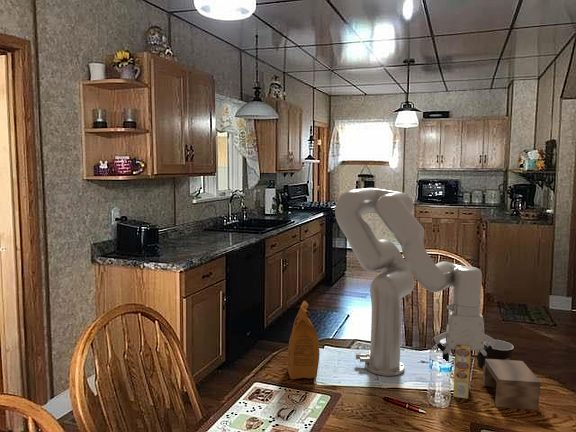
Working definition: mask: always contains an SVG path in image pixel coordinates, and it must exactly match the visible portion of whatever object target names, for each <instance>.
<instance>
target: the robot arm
mask: <svg viewBox="0 0 576 432" xmlns="http://www.w3.org/2000/svg"><path fill="white" fill-rule="evenodd" d="M334 208H335V209H334V215H335V219H336V222H337V225H338V227H339V228H340V230H341V232H342V234H344V236H345V238H346V239H347V241H348V243H349V246H350V248H351V250H352V252H353V254H354V255H355V257H356V259H357V260H358V261H357V262H358V263H359V264H360V266H361V268H362V269H363V270H365V272H368V273H373V272H377V271H380V272H381V273H380V274H378V275H377V276H375V278H373V280H371V284H370V288H369V293H370V295H369V296H370V301H371V303H370V304H371V324H370V325H371V327H370V328H371V329H370V346H369V347H370V348H369V350H368V352H365V353H360V352H357V353H355V360H359V362H360V363H364V366H365V367H364V368H365V369H366V370H367V371H368V372H370V373H372V374H375V375H378V376H384V377H393V376H398V375H401V374H403V373H404V371H405V365H404V364H405V363H403V362H402V361H401V346H402V345H401V344H402V343H401V342H402V326H403V325H402V322H403V319H402V318H403V313H402V307H401V299H402V298H404V297H406V296H408V295H410V293H412V292H413V290H414V287H415V279H416V281H417V282H418V283H419V285H420V286H421V287H422V288H424V289H425V290H427V291H428V292H431V293H439V292H441V291H444V290H445V289H448V288H451V287H452V288H453V289H452V302H451V304H447V305H446V307H447V310H449V311H450V312H449V313H448V315H449V316H448V318H447V323H446V324H447V325H446V331H444V332H441V333H439V334H437V335H434V336H433V340H434V342H435V344H436V346H437V348H438V349H439V350H440V351H441V352H442V355H441V356H442V357H443V359H445V360H446V361H448V362H449V363H450V354H449V352H450V351H451V350H455V349H456V346H457V345H465V346H471V351H478V353H477V355H478V360H477V366H478V367H479V369H481V370H484V366H483V365H485V356H486V355H487V353H488V352H490V351H491V350H492V347H493V346H494V345H495V343H496V341H495V340H496V339H494V337H491V336H489V335H488V334H485V323H484V322H485V321H484V316H483V315H482V313H481V299H482V298H481V297H482V282H483V281H482V280H483V276H482V275H483V273H482V270H481V269H480V268H478V267H475V266H470V265H461V264H456V263H453V262H450V261H440V262H438V263H435V262H434V261H433V260H432V258H431V256H430V255H429V254H428V252H427V250H426V248H425V244H424V243H425V242H424V238H425V228H424V227H423V225H422V224H421V223H420V222H419V221H418V220H417V218H416V217H415V216H414V214H413V213H412V212H413V209H414V203H413V199H411V196H410V195H408V194H407V193H406V192H405V193H404V192H402V191H394V190H387V189H383V188H382V189H381V188H376V187H375V188H374V187H366V188H365V187H363V188H355V189H353V188H352V189H350V190H347V191H344V192H343V193H342V194H341V195H340V196H339V198H338V199H337V201H336V203H335V207H334ZM366 214H377V215H378V217H379V218H380V220H381V221H382V222H383V223H384V225H385V226H386V227H387V229H388V230H389V231H390V233H391V234H392V235H393V236H394V238H395V239H396V241H397V242H398V244H399V245H400V246H401V247H400V248H401V251H402V253H401V252H400V249H399V248H398V246H396V244H394V242H392V241H390V240H388V239H385V238H384V239H383V238H381V239H380V238H379V239H378V238H377V237H376V236H375V233H374V232H373V230H372V228H371V226H370V225H369V224H368V223H367V222H366V221H365V220H364V218H362V215H366ZM444 339H445V343H444V344H442V343H441V341H442V340H444ZM486 340H487V341H488V342H489V343H488V345H486V346H485V347H484V343H485V341H486Z"/></svg>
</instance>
